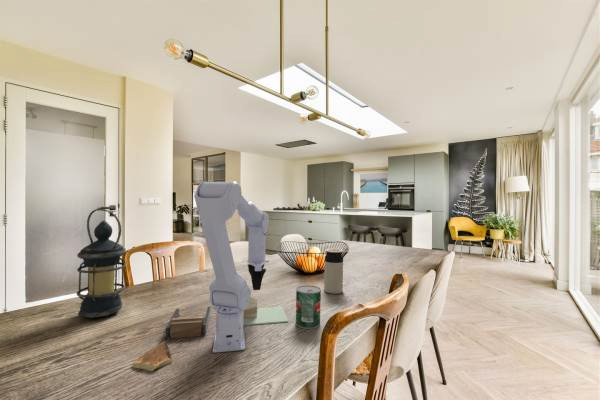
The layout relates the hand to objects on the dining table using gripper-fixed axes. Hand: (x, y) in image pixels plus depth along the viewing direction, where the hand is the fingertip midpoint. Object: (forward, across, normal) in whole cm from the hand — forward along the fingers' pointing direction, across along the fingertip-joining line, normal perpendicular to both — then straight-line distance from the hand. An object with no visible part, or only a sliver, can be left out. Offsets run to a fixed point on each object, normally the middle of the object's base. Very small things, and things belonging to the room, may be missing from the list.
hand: (256, 287), depth 92 cm
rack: (+10, -3, +20) cm, 22 cm away
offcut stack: (+10, -8, +20) cm, 24 cm away
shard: (+10, -20, +26) cm, 34 cm away
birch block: (+9, 0, +4) cm, 10 cm away
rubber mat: (+10, 0, 0) cm, 10 cm away
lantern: (+10, +11, +50) cm, 52 cm away
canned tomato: (+10, -8, -16) cm, 20 cm away
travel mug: (+10, +21, -35) cm, 42 cm away
